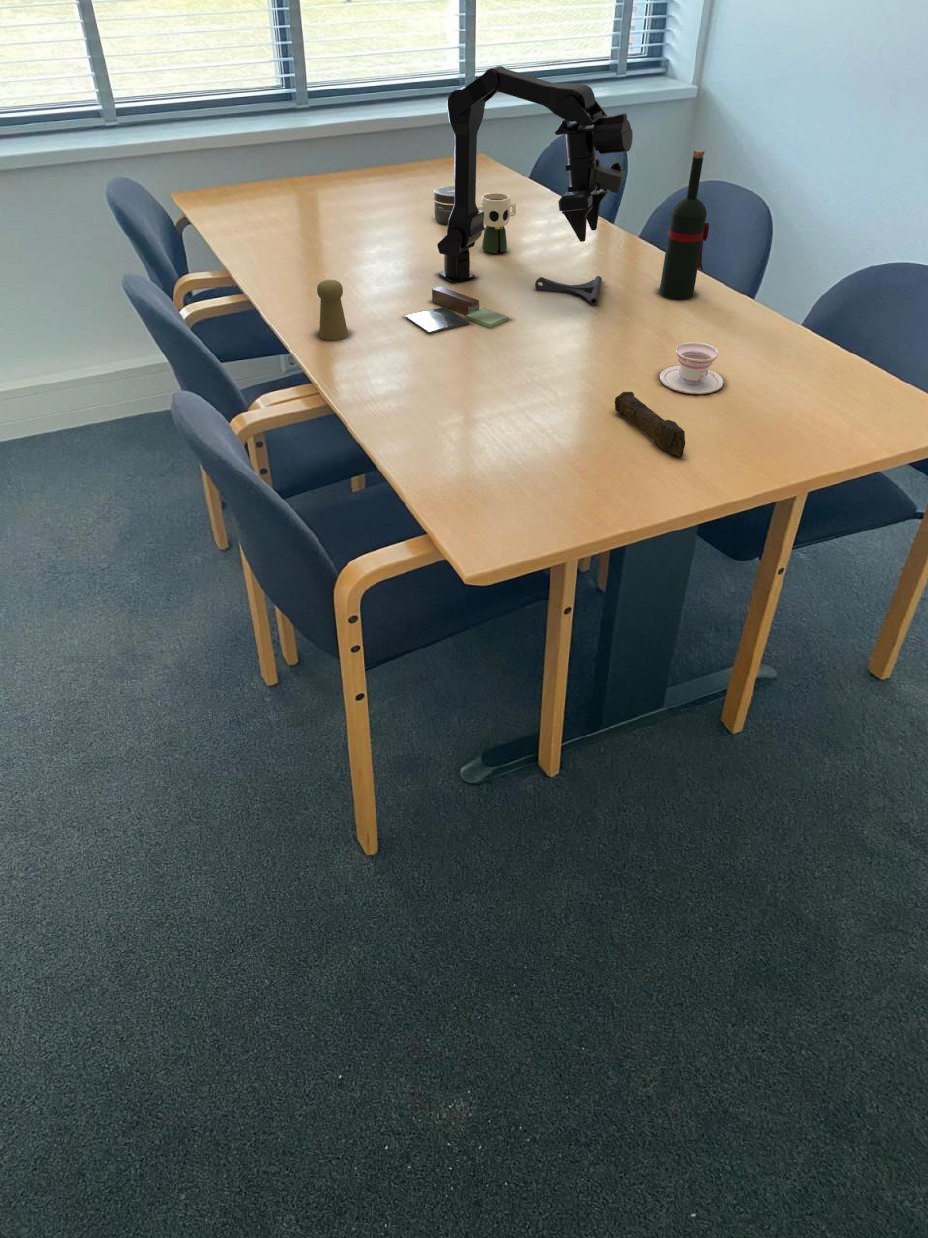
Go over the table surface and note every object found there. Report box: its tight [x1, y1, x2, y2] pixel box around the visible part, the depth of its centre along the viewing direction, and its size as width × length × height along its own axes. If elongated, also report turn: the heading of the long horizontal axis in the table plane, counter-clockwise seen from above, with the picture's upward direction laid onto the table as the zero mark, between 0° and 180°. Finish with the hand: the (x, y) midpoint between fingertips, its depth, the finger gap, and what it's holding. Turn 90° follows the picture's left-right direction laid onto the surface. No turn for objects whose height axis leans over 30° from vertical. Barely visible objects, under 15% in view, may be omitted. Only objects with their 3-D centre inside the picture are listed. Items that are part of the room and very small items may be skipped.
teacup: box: [659, 341, 724, 395], centre depth 173 cm, size 12×12×6 cm
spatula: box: [431, 285, 509, 329], centre depth 200 cm, size 19×6×3 cm, turn 47°
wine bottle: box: [658, 149, 710, 301], centre depth 202 cm, size 8×10×30 cm
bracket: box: [534, 275, 603, 306], centre depth 210 cm, size 14×15×3 cm
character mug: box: [476, 192, 517, 254], centre depth 228 cm, size 11×7×13 cm, turn 111°
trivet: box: [405, 306, 470, 334], centre depth 197 cm, size 10×10×1 cm
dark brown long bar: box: [614, 391, 686, 458], centre depth 158 cm, size 19×4×5 cm, turn 21°
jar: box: [433, 185, 455, 226], centre depth 249 cm, size 10×10×8 cm
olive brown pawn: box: [316, 279, 349, 341], centre depth 187 cm, size 6×6×11 cm
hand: (588, 235), depth 197 cm, fingers open, 9 cm apart
